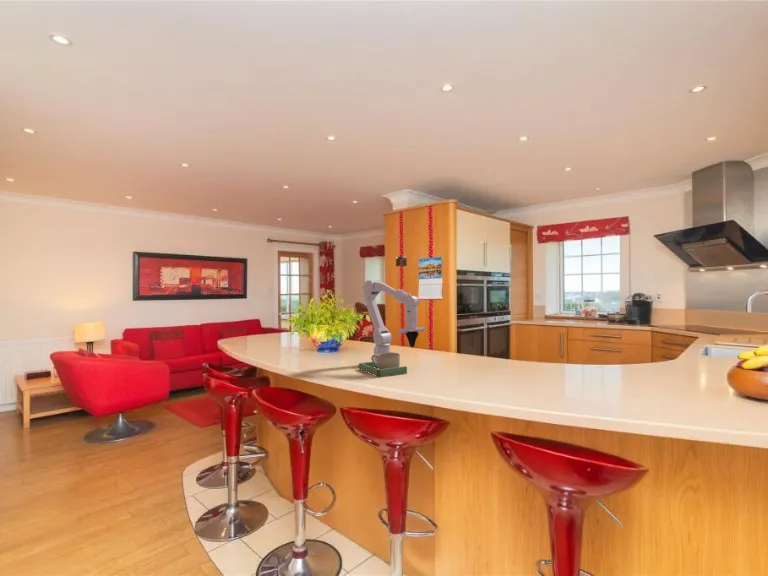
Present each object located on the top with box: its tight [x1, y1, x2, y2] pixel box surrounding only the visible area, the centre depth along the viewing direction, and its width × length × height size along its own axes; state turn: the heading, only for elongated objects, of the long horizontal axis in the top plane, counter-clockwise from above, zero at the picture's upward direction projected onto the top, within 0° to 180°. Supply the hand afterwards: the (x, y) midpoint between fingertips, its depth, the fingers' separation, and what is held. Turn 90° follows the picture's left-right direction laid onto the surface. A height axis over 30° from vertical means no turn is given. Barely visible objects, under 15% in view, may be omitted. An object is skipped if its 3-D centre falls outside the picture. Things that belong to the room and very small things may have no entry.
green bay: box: [358, 361, 408, 377], centre depth 179 cm, size 20×15×3 cm
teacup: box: [370, 351, 401, 369], centre depth 180 cm, size 14×11×8 cm
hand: (412, 346), depth 193 cm, fingers closed
